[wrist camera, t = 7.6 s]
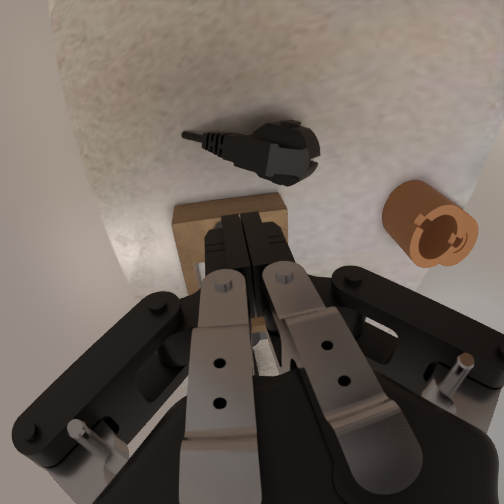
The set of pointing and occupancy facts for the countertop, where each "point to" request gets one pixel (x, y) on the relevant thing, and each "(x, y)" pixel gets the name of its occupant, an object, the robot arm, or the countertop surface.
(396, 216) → the brown rounded piece
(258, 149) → the power plug
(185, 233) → the brown rectangular frame
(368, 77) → the countertop surface
